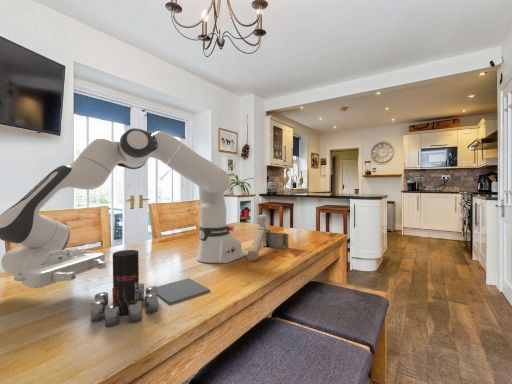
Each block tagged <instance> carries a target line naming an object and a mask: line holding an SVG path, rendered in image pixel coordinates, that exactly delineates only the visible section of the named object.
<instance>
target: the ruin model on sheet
mask: <svg viewBox="0 0 512 384" xmlns="http://www.w3.org/2000/svg"><path fill="white" fill-rule="evenodd" d="M267 245H270V246H269V248H272V247H280V248H279V249H282V248H288V249H289V233H285V232H274V231H273V232H272V231H271V229H270V228H269V229H267V228H266V246H267ZM267 247H268V246H267Z"/></svg>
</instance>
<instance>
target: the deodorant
mask: <svg viewBox="0 0 512 384" xmlns="http://www.w3.org/2000/svg"><path fill="white" fill-rule="evenodd" d="M139 260H140V259H139V250H135V249H127V250H119V251H115V252H113V253H112V288H113V294H112V304H118V305H119V317H125V316H128V304H129V303H130V302H133V301H139V283H140V281H139V280H140V277H139V276H140V273H139V271H140V270H139V267H140V266H139V263H140V262H139Z"/></svg>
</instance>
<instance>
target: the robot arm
mask: <svg viewBox="0 0 512 384" xmlns="http://www.w3.org/2000/svg"><path fill="white" fill-rule="evenodd" d="M149 158H153V159H157V160H158V161H160V162H162V163H163V164H164V165H166V166H167V167H169V168H170V169H172V170H173V171H175V173H176V172H177V174H179V175H180V176H182V177H184V178H185V179H186V180H189V181H190V182H192V183H194V184H195V185H196V186H198V195H199V198H198V199H199V207H200V209H199V211H200V214H199V215H200V217H199V219H200V221H199V222H200V224H199V227H198V228H199V230H198V233H199V235H198V236H199V247H198V252H197V256H196V260H197V261H198V262H202V263H207V264H217V263H218V264H227V263H230V262H233V261H236V260H238V259H241V258H245V257H247V254H248V252H247V251H244V250H243V246H242V243H241V241H240V240H239V239H237V238H236V237H235V236H233V235H232V234H231V233H230V231H231V232H234V230H235V227H234V226H232V225H230V226H228V225H227V206H226V201H225V193H224V192H226V191H227V190H228V189H229V187H230V185H231V178H230V175H229V174H228V173H227V171H225V170H224V169H223V168H221V167H219V166H218V165H216V164H215V163H213V162H212V161H210V160H208V159H207V158H205V157H203V156H202V155H199V154H198V153H197V152H196V151H194V150H193V149H192V148H190V147H188V146H187V145H186V144H184V143H183V142H182V141H180V140H178V139H177V138H175V137H174V136H172V135H170V134H168V133H166V132H165V131H160V130H159V131H155V132H154V133H152V132H150V131H146V130H143V129H142V128H138V127H137V128H135V127H133V128H129V129H128V130H126V131H124V133H122V135H121V137H120V139H119V141H114V140H112V139H110V138H107V137H98V138H95V139H93V140H92V141H91V142H90V143H89V144H88V145H87V146H86V147H85V148H84V149H83V150H82V152H80V154H79V155H78V157H77V158H76V159H75V160H74V161H73V162H71V163H70V164H68V165H60V166H58V167H55V168H54V169H53V170H52V171H51V172H50V173H48V174H47V175H46V176H44V178H43V179H41V180H40V181H39V182H38V183H37V184H36V185H35V186H34V187H33V188H32V189H31V190H29V191H28V192H27V193H26V194H25V195H24V196H23V197H22V198H21V199H20V200H19V201H17V202H16V203H15V204H13V205H11V206H10V207H9V208H8V209H6V210H5V211H4V212H3V213H1V214H0V240H1V241H4V242H8V243H13V244H17V245H18V246H16V247H15V248H12V249H9V250H8V251H6V252H5V253H4V254H3V256H2V258H1V263H0V264H1V267H2V269H3V271H4V272H5V273H7V274H8V275H9V276H12V277H13V280H14V281H16V282H22V283H21V284H22V285H23V286H25V287H28V288H32V289H39V288H44V287H47V286H49V285H50V286H51V285H53V284H55V283H58V282H65V281H68V282H70V281H74V280H75V279H76V277H77V276H78V275H81V274H83V273H86V272H89V271H91V270H95V269H98V270H104V269H106V268H107V262H106V257H105V253H103V252H100V251H94V250H93V251H92V250H84V249H83V248H80V247H79V248H77V247H76V248H70V249H66V247H67V245H69V241H70V237H71V236H70V235H71V233H70V229H69V227H68V225H66V224H64V223H63V222H60V221H59V220H56V219H54V218H50V217H48V216H46V215H44V214H42V213H40V210H41V209H42V208H43V207H44V206H45V205H46V204H47V203H48V202H49V201H50V200H51V199H52V198H53V197H54V196H55V195H56V194H57V193H58V192H59V191H61V190H62V189H65V188H75V189H79V190H86V191H87V190H89V191H90V190H94V189H98V188H100V187H101V186H103V184H105V183H106V181H107V180H108V178H109V177H110V176H111V174H112V172H113V170H114V169H115V168H116V167H117V166H118V167H122V168H126V169H130V170H138V169H141V168H142V167H144V166H145V165H146V163H147V161H148V159H149Z"/></svg>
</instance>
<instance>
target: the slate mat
mask: <svg viewBox="0 0 512 384" xmlns="http://www.w3.org/2000/svg"><path fill="white" fill-rule="evenodd" d="M156 287H157V298H158V297H159V298H160V299H161V300H162V301H164V302H165V303H166V304H168V305H174V304H176V303H179V302H182V301H185V300H189V299H191V298H194V297H197V296H199V295H200V296H201V295H203V294H206V293H209V292H211V289H210V288H208V287H206V286H204V285H203V284H201V283H198V282H197V281H195V280H193V279H191V278H190V277H189V278H185V279H184V278H183V279H181V280H176V281H174V282H170V283H166V284H161V285H158V286H156Z"/></svg>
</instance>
